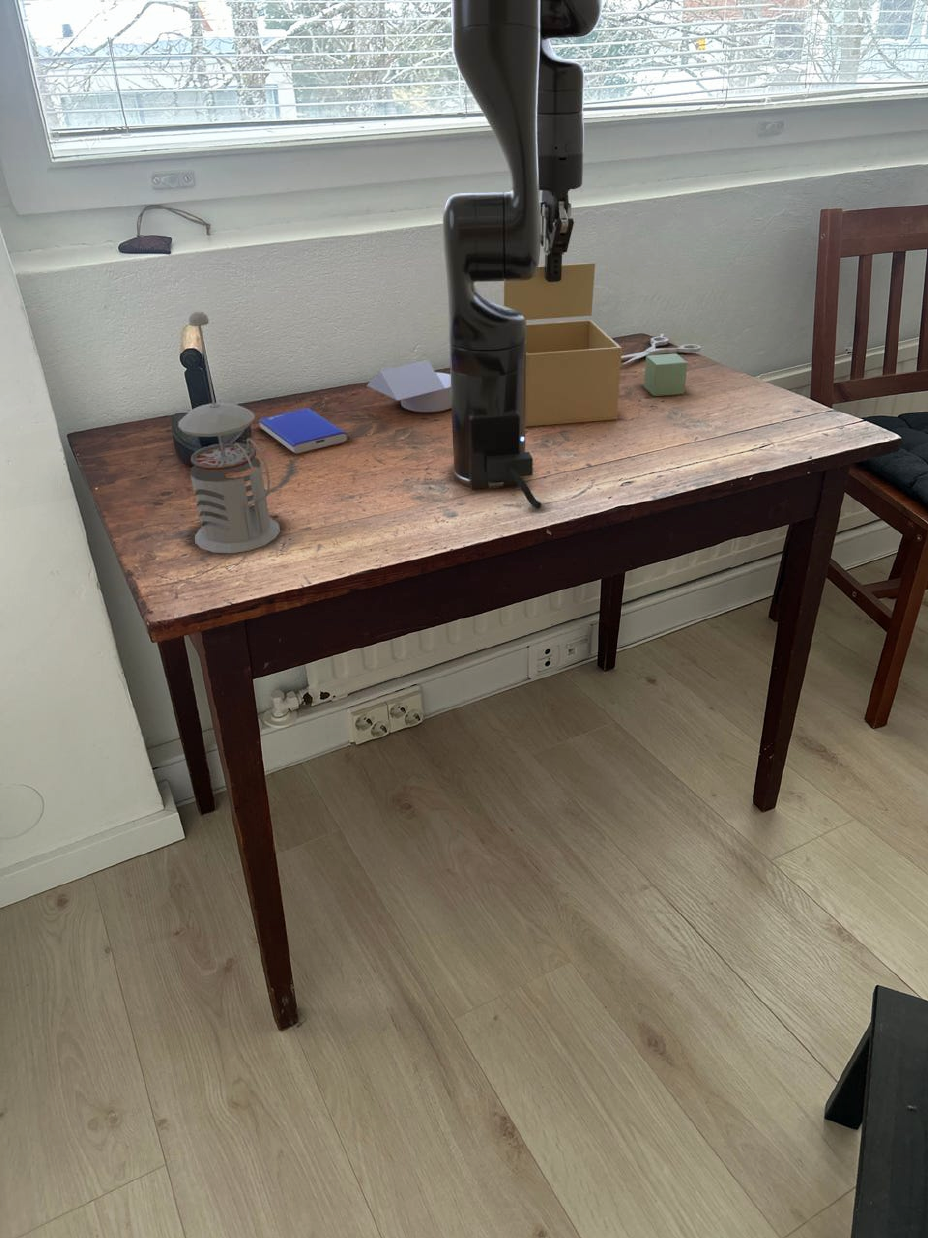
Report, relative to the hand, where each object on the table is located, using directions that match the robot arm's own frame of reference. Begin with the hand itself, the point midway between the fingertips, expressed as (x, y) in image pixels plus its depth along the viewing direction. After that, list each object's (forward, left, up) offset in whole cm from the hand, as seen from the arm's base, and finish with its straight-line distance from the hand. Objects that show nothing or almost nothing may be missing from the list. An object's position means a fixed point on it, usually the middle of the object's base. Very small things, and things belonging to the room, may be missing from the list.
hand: (552, 280), depth 133 cm
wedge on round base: (0, +21, -17) cm, 27 cm away
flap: (+2, 0, -2) cm, 3 cm away
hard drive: (-9, +39, -17) cm, 44 cm away
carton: (-5, 0, -17) cm, 18 cm away
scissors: (+17, -22, -17) cm, 32 cm away
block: (-2, -18, -17) cm, 25 cm away
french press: (-40, +46, -17) cm, 64 cm away
